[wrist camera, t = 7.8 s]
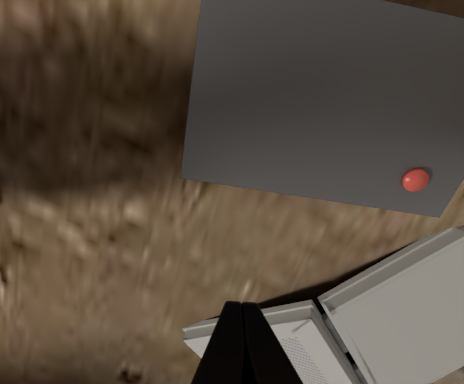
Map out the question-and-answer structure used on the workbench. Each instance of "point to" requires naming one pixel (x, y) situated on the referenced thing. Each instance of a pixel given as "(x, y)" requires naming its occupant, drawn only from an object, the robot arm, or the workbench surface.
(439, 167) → the camera block
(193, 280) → the workbench surface
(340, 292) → the gadget
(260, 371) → the robot arm
